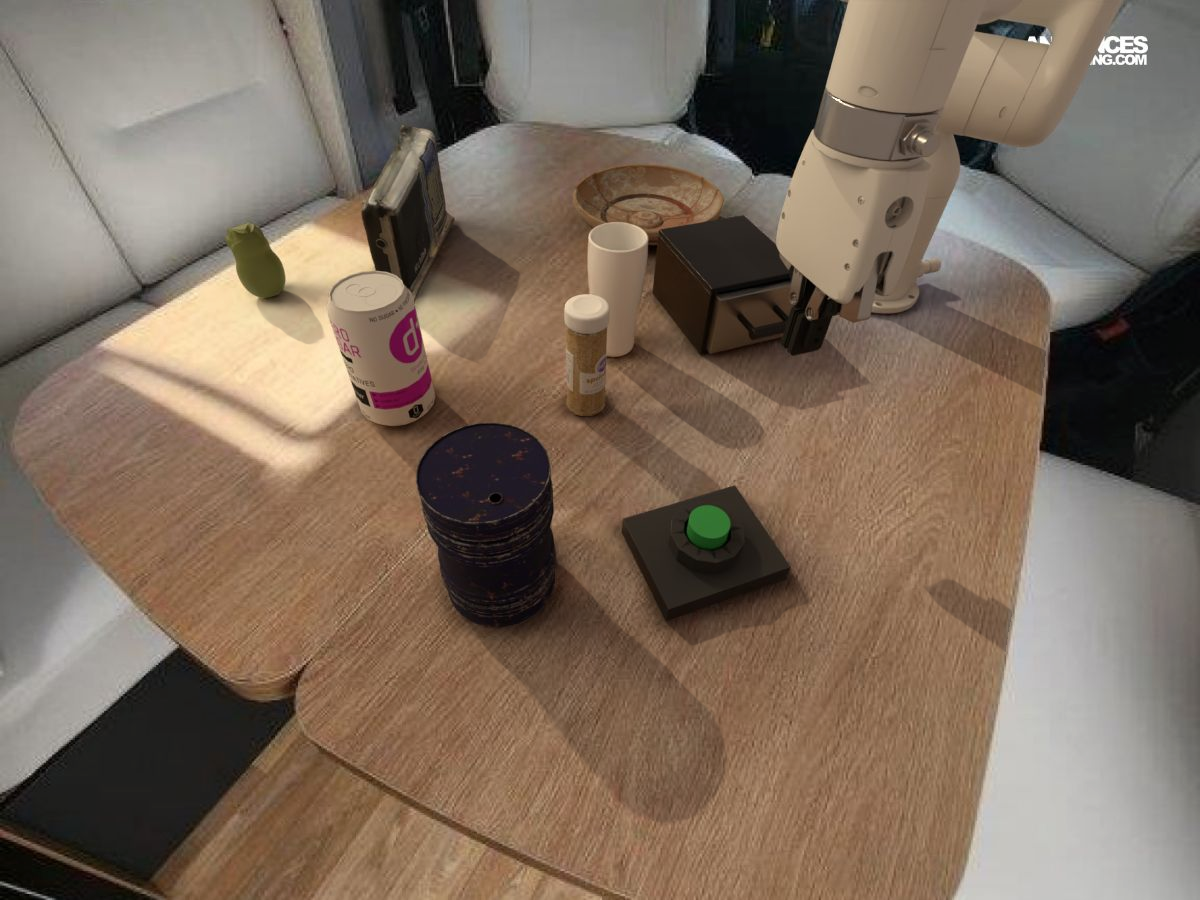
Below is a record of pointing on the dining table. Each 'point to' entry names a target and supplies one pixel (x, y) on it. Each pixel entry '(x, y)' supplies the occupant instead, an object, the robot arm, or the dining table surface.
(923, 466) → the dining table surface
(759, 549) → the control block
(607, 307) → the sprinkles bottle
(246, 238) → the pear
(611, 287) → the tall white cup
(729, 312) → the drawer
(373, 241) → the radio
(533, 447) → the storage jar
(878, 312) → the robot arm
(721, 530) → the button
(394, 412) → the soda can
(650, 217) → the ceramic bowl
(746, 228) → the cabinet
